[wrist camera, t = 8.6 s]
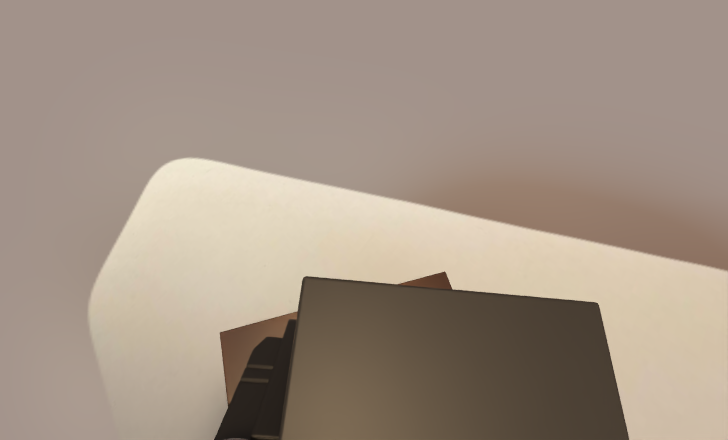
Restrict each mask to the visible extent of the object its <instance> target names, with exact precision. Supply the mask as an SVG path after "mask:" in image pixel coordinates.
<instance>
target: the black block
mask: <svg viewBox="0 0 728 440" xmlns="http://www.w3.org/2000/svg"><path fill="white" fill-rule="evenodd" d="M278 440H629V436H628V432H627V427H626V423H625V419H624V414H623V410H622V405H621V401H620V396H619V392H618V388H617V383H616V379H615V374H614V370H613V365H612V361H611V357H610V352H609V348H608V343H607V339H606V335H605V330H604V326H603V321H602V317H601V312H600V308H599V305H598V303H595V302H585V301H574V300H563V299H552V298H541V297H530V296H519V295H508V294H497V293H486V292H475V291H463V290H452V289H441V288H430V287H419V286H408V285H397V284H386V283H375V282H364V281H353V280H341V279H330V278H319V277H308V276H306V277H304V278H303V280H302V287H301V293H300V300H299V306H298V313H297V320H296V326H295V333H294V340H293V346H292V353H291V360H290V366H289V373H288V380H287V386H286V393H285V400H284V406H283V413H282V419H281V426H280V433H279V439H278Z"/></svg>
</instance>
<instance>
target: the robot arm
mask: <svg viewBox="0 0 728 440" xmlns="http://www.w3.org/2000/svg"><path fill="white" fill-rule="evenodd" d="M295 326H296V319H289V320H288V323H287V326H286V329H285V332H284V335H283V338H279V337H266V338H265V339H263V340H262V341H261V342H260V343H259V344H258V345H257V346H256V347H255V348H254V349H253V351H252V353H251V355H250V358H249V360H248V362H247V365H246V368H245V369H244V372H243V374H242V376H241V380H240V382H239V383H238V386H237V388H236V390H235V393H234V395H233V397H232V400H231V402H230V404H229V407H228V409H227V411H226V414H225V416H224V418H223V421H222V423H221V425H220V428H219V430H218V432H217V435H216V437H215V439H214V440H278V439H279V433H280V426H281V419H282V413H283V406H284V400H285V393H286V386H287V380H288V373H289V366H290V360H291V353H292V346H293V340H294V333H295Z"/></svg>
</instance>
